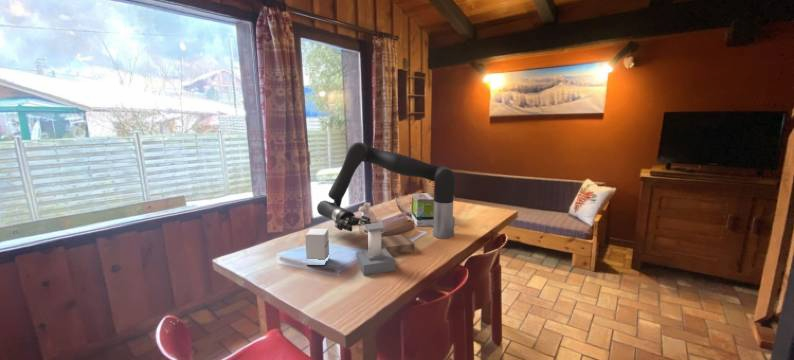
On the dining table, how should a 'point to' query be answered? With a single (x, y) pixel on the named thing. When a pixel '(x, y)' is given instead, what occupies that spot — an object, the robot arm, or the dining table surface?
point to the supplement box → (317, 244)
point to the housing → (374, 241)
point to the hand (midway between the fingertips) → (361, 227)
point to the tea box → (422, 209)
